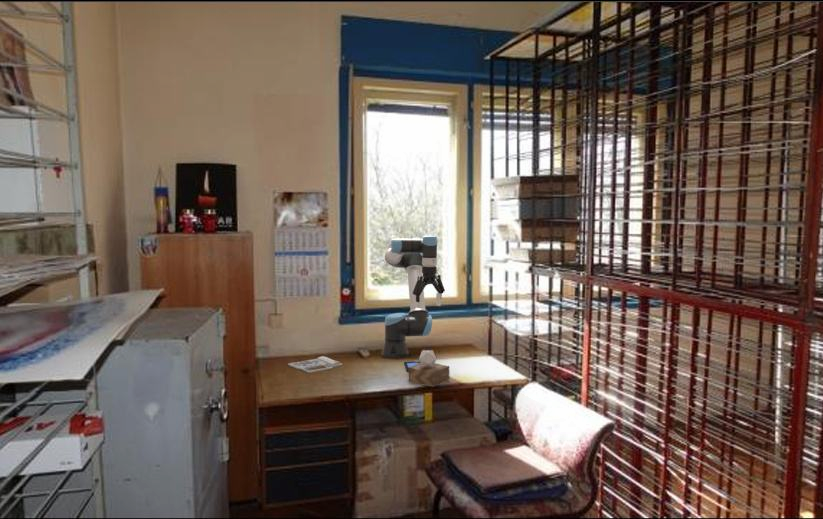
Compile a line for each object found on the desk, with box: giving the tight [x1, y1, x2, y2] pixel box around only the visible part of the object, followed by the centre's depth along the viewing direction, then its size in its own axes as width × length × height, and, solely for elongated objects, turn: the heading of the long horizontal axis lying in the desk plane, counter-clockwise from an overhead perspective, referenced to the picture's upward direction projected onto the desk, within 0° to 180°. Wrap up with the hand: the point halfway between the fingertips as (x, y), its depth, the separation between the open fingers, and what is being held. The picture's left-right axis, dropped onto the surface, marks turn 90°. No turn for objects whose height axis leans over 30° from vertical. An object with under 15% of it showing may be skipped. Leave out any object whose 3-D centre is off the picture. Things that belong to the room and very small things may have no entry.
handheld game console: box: [403, 347, 431, 373], centre depth 277 cm, size 16×13×9 cm
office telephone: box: [287, 356, 343, 374], centre depth 280 cm, size 23×3×20 cm
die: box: [418, 349, 437, 368], centre depth 255 cm, size 8×9×10 cm
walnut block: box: [408, 362, 450, 388], centre depth 256 cm, size 14×14×7 cm
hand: (428, 307), depth 275 cm, fingers open, 13 cm apart
